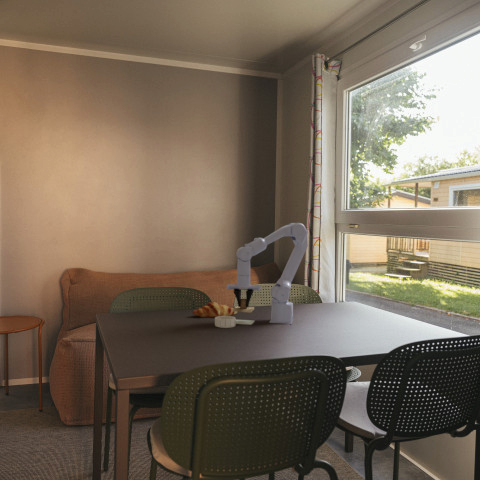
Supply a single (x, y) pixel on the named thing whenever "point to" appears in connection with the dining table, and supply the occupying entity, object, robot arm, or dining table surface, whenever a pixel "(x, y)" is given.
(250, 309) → the lid
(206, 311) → the croissant
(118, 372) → the dining table surface
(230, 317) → the bowl
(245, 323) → the plate
